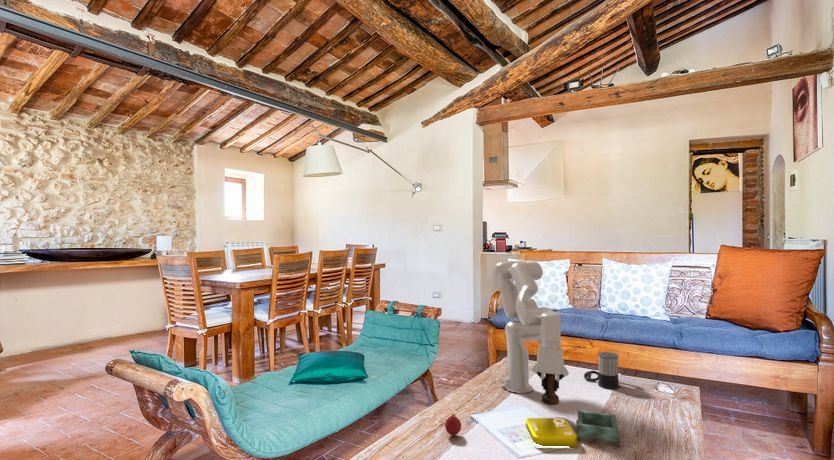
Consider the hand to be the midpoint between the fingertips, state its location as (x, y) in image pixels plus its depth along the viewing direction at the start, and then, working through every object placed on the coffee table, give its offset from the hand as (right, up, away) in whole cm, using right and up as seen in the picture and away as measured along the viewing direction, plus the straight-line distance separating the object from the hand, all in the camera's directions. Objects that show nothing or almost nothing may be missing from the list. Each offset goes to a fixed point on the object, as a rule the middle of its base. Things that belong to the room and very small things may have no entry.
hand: (550, 388), depth 167 cm
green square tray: (+12, -11, -16) cm, 22 cm away
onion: (-40, -12, -15) cm, 44 cm away
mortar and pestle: (0, -6, 0) cm, 6 cm away
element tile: (-5, -12, -17) cm, 22 cm away
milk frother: (+35, -10, +34) cm, 50 cm away
